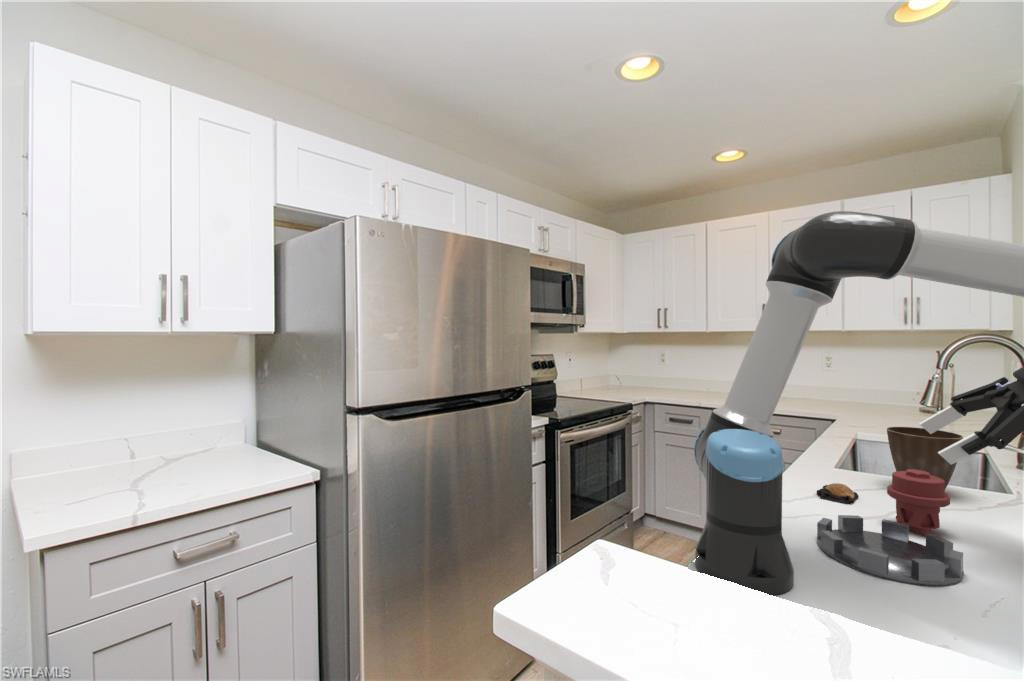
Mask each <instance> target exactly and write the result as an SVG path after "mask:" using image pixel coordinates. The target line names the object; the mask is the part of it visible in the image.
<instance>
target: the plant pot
mask: <svg viewBox="0 0 1024 681" xmlns="http://www.w3.org/2000/svg"><path fill="white" fill-rule="evenodd" d="M886 433H887V434H886V435H887V439H888V446H889V450H890V454H891V459H892V462H893V465H894V469H895V472H896V471H906V470H907V469H915V470H922V471H926V472H929V473H930V475H933V476H936V477H939V478H941V479H943V480H944V481H945V490H946V489H947V487H948V485H949V483H950V481H951V479H952V477H953V474H954V471H955V469H956V465H957V463H958V462H956V463H954V464H952V465H951V464H950V463H949V462H947V461H946V460H945V459H944V458H943V457H942V456H941V455H940V454H939V453H938V452H939V451H941V450H943V449H945V448H947V447H948V446H950V445H952V444H954V443H956V442H958V441H960V440H962V439H964V436H963V435H962V434H959V433H956V432H952V431H951V432H950V431H945V430H941V429H939V430H937V431H936V432H934V433H932V434H930V433H929V432H928V431H926V430H925V429H924V428H923V427H912V426H911V427H910V426H889V427H887V428H886Z"/></svg>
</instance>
